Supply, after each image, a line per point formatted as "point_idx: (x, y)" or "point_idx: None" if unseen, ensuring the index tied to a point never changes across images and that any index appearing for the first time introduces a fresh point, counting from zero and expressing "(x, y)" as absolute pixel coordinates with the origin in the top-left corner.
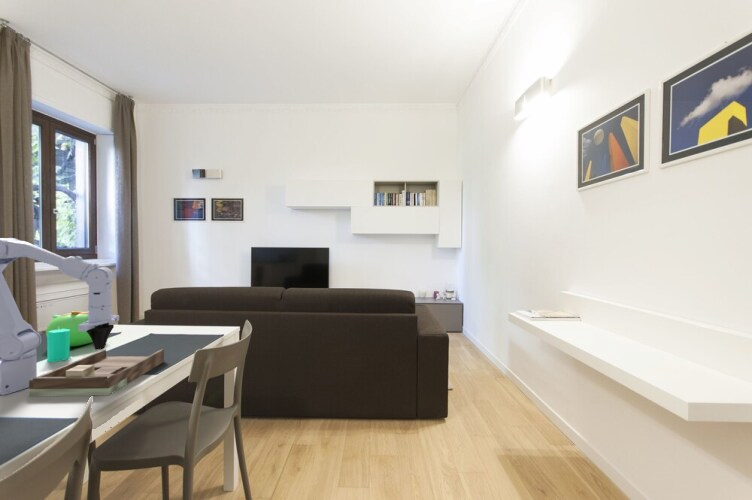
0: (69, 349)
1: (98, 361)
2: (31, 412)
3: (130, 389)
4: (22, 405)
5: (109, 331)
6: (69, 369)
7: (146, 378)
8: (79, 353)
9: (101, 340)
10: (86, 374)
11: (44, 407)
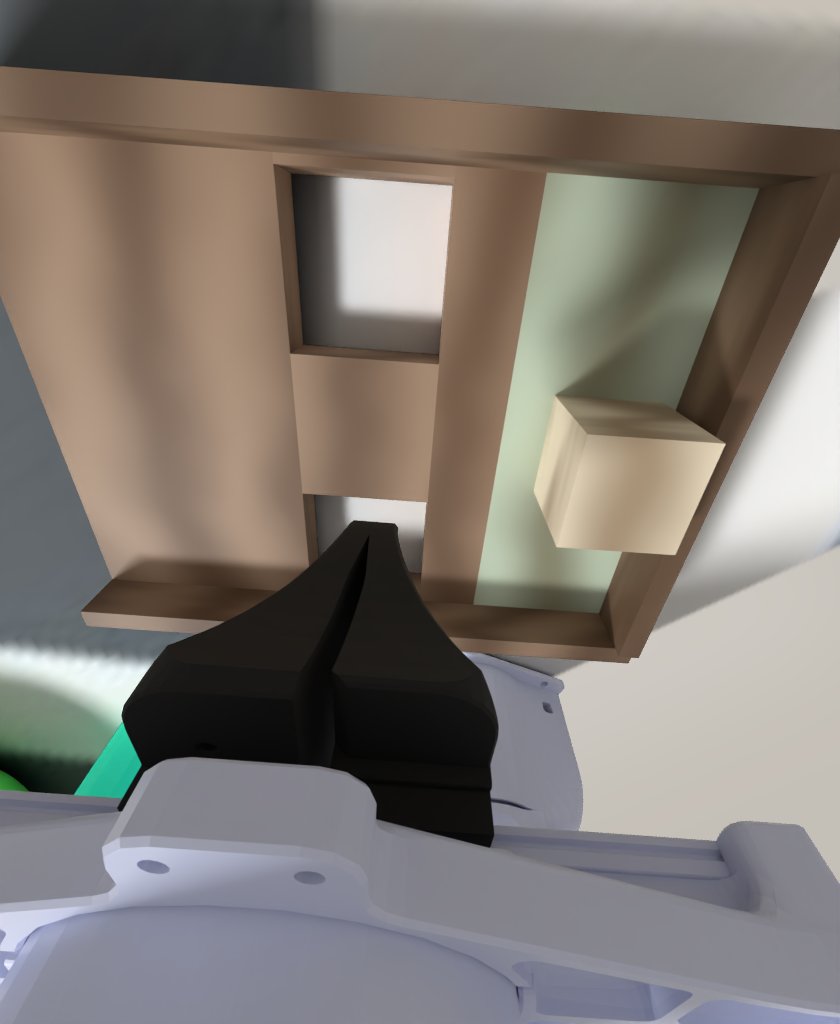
0: (98, 759)
1: (203, 569)
2: (834, 482)
3: (686, 15)
4: (709, 567)
5: (274, 622)
6: (652, 547)
7: (422, 11)
8: (65, 717)
9: (409, 583)
10: (658, 422)
11: (790, 463)
